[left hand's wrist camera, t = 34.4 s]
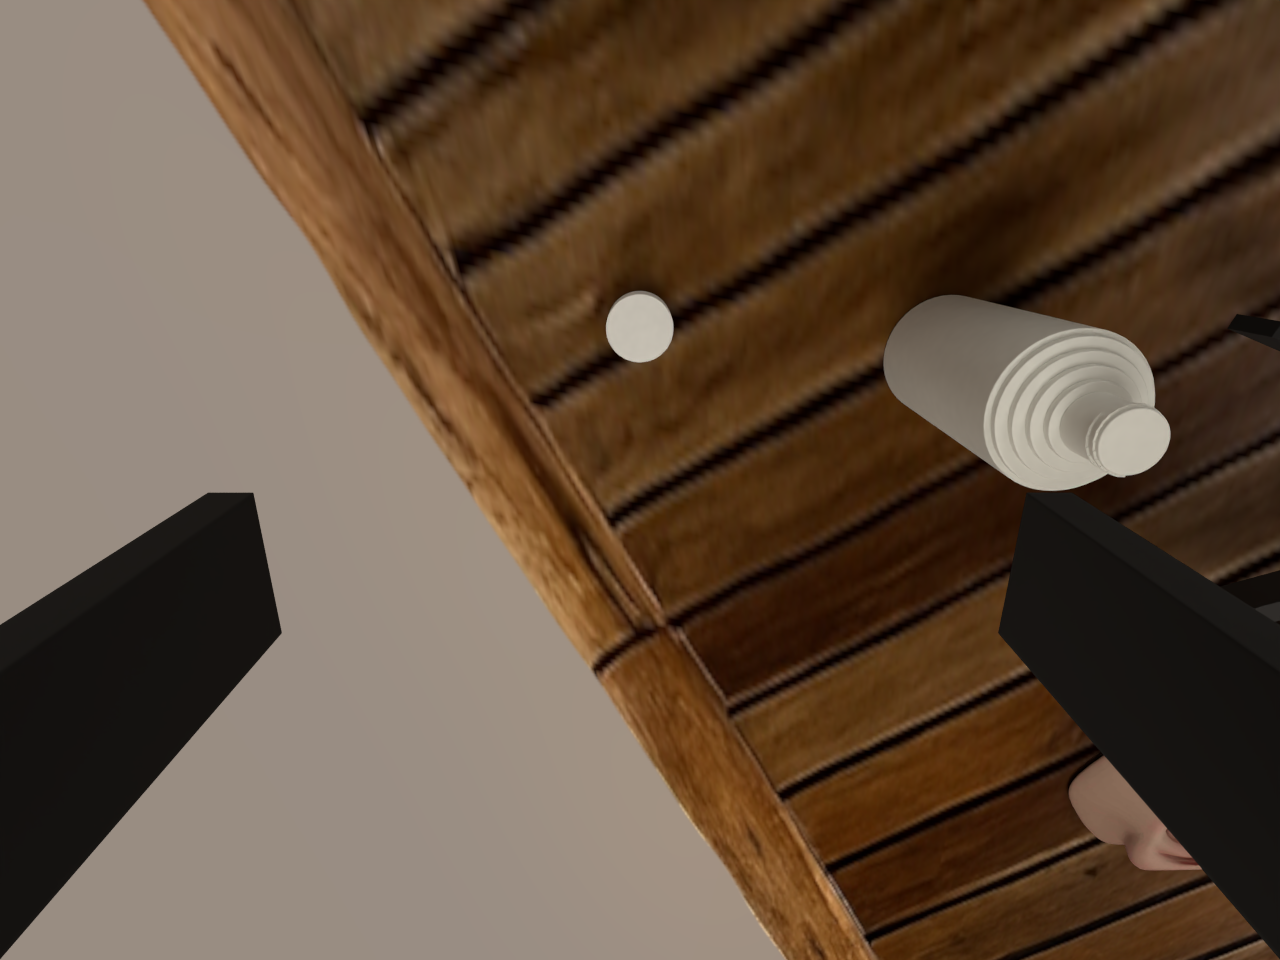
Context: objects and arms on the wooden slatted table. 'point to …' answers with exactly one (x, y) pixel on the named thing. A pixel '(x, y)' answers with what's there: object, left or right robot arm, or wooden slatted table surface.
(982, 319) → the bottle
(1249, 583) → the right robot arm
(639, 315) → the cap
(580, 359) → the wooden slatted table surface
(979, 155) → the wooden slatted table surface
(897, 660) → the wooden slatted table surface
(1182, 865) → the anatomical model
